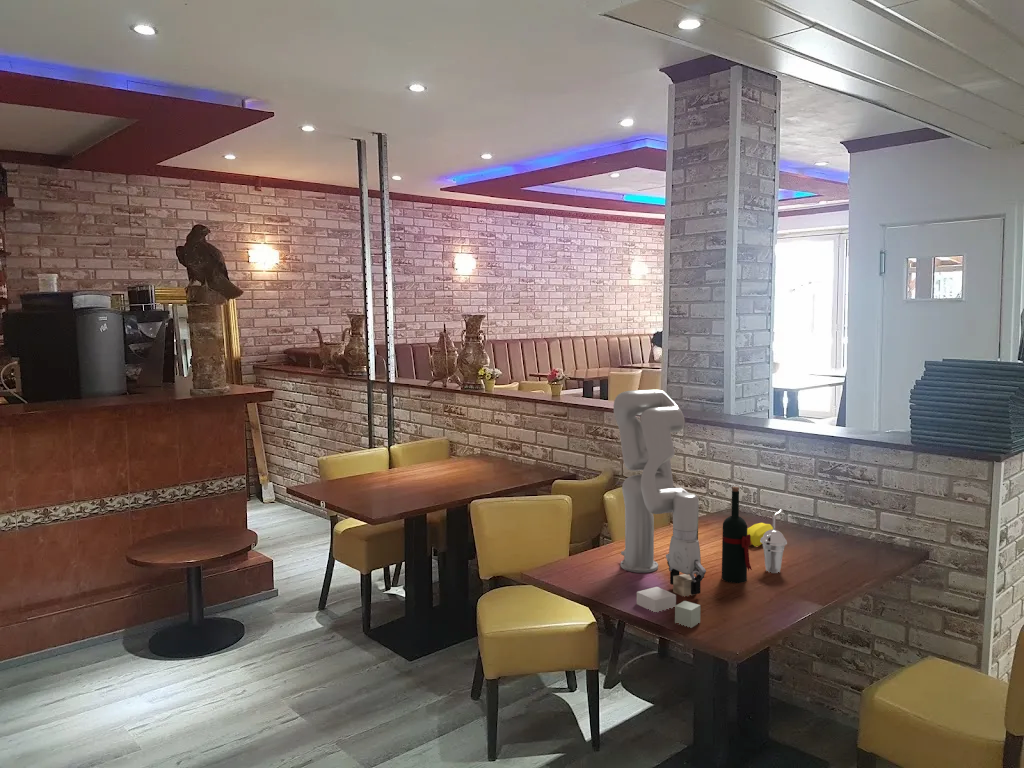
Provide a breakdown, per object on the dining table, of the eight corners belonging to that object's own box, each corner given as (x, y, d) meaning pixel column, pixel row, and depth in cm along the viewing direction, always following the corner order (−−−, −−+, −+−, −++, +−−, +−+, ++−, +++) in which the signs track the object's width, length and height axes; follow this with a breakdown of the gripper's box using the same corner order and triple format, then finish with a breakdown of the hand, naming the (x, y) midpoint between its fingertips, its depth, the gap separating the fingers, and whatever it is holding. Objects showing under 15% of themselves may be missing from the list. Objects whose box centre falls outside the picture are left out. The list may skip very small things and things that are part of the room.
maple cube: (673, 592, 229) (673, 576, 228) (686, 589, 231) (686, 573, 230) (683, 597, 224) (683, 581, 224) (696, 594, 226) (696, 578, 226)
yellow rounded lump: (737, 546, 275) (756, 550, 269) (737, 528, 274) (757, 532, 269) (759, 535, 287) (778, 539, 282) (759, 518, 287) (779, 522, 282)
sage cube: (674, 623, 205) (675, 605, 205) (684, 617, 209) (684, 600, 208) (691, 628, 202) (691, 610, 201) (700, 622, 205) (700, 605, 205)
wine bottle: (742, 587, 232) (743, 492, 229) (716, 578, 240) (717, 486, 238) (758, 582, 236) (759, 489, 234) (732, 573, 245) (733, 483, 242)
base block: (636, 605, 219) (636, 591, 219) (657, 599, 223) (657, 586, 223) (655, 613, 212) (655, 600, 212) (675, 608, 216) (675, 594, 216)
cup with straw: (754, 567, 250) (755, 509, 248) (778, 565, 252) (779, 507, 250) (769, 576, 241) (770, 515, 240) (793, 573, 244) (794, 513, 242)
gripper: (657, 528, 232) (657, 582, 233) (694, 543, 217) (694, 600, 218) (676, 525, 235) (676, 578, 237) (714, 539, 220) (713, 595, 221)
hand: (684, 588), depth 227 cm, fingers open, 9 cm apart
